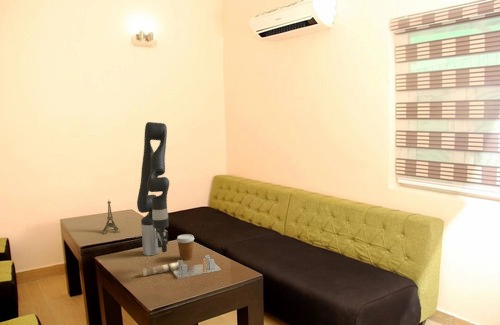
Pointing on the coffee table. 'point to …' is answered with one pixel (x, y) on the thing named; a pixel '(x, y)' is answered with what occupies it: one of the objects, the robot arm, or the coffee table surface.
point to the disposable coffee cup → (185, 246)
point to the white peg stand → (195, 268)
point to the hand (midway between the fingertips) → (162, 249)
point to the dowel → (159, 269)
